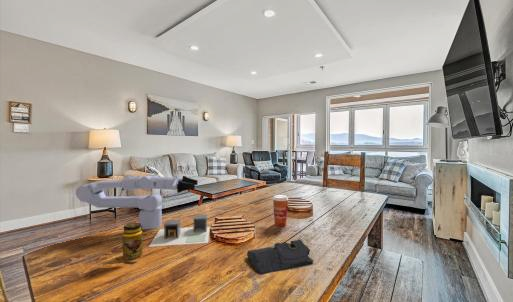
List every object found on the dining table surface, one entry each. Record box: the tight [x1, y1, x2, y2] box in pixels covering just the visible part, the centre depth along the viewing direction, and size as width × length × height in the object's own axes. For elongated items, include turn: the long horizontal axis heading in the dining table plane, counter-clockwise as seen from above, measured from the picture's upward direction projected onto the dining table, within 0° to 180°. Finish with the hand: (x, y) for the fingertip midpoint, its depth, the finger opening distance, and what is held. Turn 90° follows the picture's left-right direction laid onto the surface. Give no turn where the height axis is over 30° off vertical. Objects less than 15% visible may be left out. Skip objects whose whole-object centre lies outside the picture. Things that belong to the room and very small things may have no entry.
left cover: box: [163, 218, 181, 239], centre depth 98 cm, size 6×6×6 cm
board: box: [148, 225, 211, 248], centre depth 99 cm, size 22×18×1 cm
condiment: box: [122, 221, 144, 265], centre depth 82 cm, size 7×8×12 cm
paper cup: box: [272, 194, 289, 228], centre depth 115 cm, size 8×8×14 cm
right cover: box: [193, 213, 208, 232], centre depth 105 cm, size 6×6×6 cm
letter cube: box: [168, 227, 177, 238], centre depth 98 cm, size 3×3×3 cm
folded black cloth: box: [246, 239, 315, 275], centre depth 82 cm, size 15×22×5 cm
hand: (196, 184), depth 110 cm, fingers open, 7 cm apart
